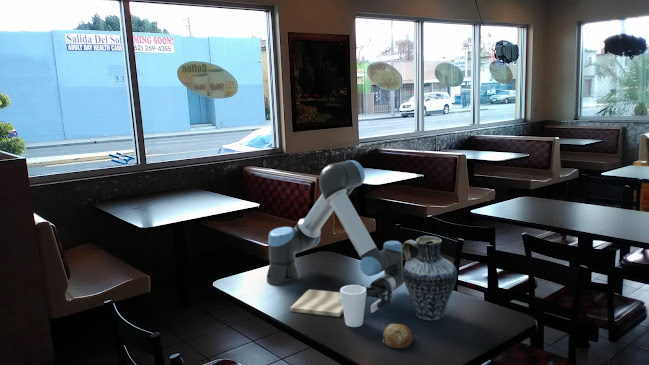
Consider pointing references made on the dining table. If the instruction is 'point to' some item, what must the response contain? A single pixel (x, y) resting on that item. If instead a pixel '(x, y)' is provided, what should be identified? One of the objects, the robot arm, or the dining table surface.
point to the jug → (428, 277)
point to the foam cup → (353, 304)
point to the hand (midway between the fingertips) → (355, 305)
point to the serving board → (318, 303)
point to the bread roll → (397, 336)
